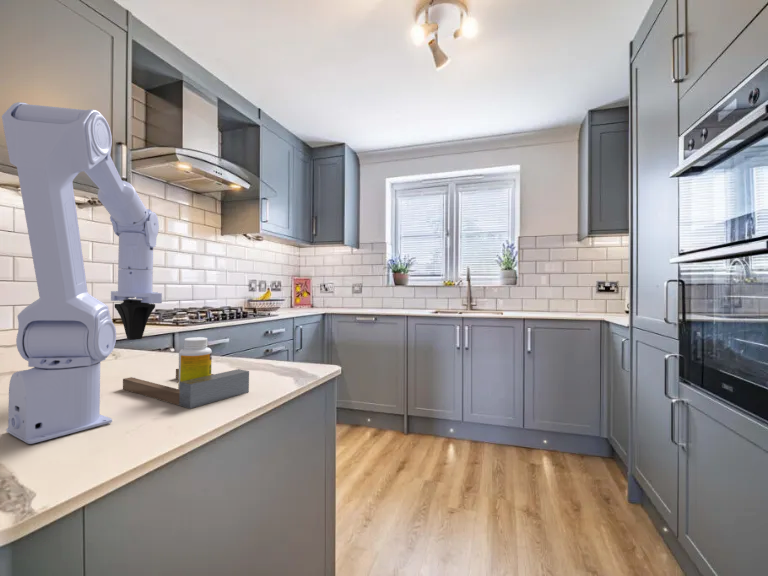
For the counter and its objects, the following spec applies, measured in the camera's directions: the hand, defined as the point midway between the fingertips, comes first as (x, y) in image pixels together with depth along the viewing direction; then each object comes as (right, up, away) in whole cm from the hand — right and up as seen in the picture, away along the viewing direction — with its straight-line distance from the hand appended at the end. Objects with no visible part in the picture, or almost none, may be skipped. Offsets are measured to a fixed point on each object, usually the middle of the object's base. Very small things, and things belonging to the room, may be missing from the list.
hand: (134, 339), depth 75 cm
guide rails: (+10, -10, -1) cm, 14 cm away
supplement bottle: (+13, -10, -3) cm, 17 cm away
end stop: (+19, -10, -6) cm, 22 cm away
